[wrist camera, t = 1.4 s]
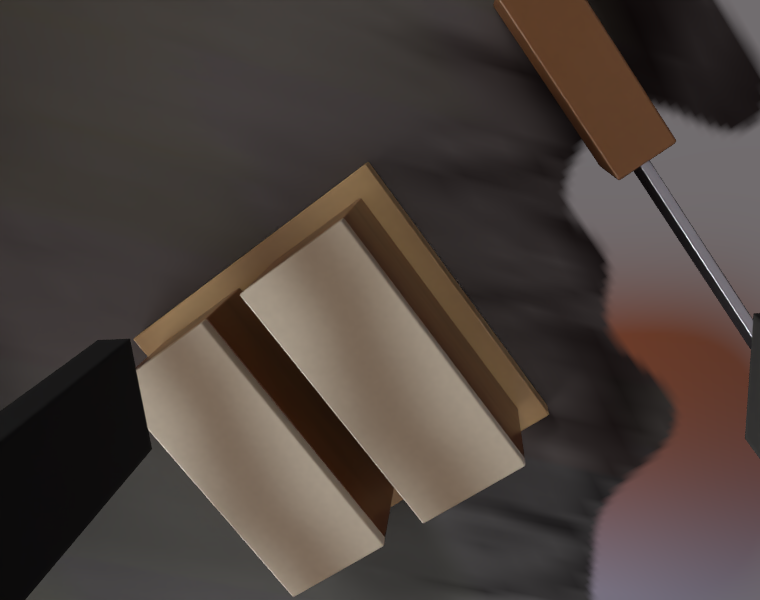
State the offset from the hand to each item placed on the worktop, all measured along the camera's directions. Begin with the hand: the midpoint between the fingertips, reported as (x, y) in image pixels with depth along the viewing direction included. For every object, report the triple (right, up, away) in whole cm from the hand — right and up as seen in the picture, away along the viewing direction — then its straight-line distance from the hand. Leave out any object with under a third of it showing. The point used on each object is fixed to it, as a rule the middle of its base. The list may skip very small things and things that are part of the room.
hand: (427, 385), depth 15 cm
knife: (+11, +5, +15) cm, 20 cm away
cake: (-3, -1, +19) cm, 20 cm away
